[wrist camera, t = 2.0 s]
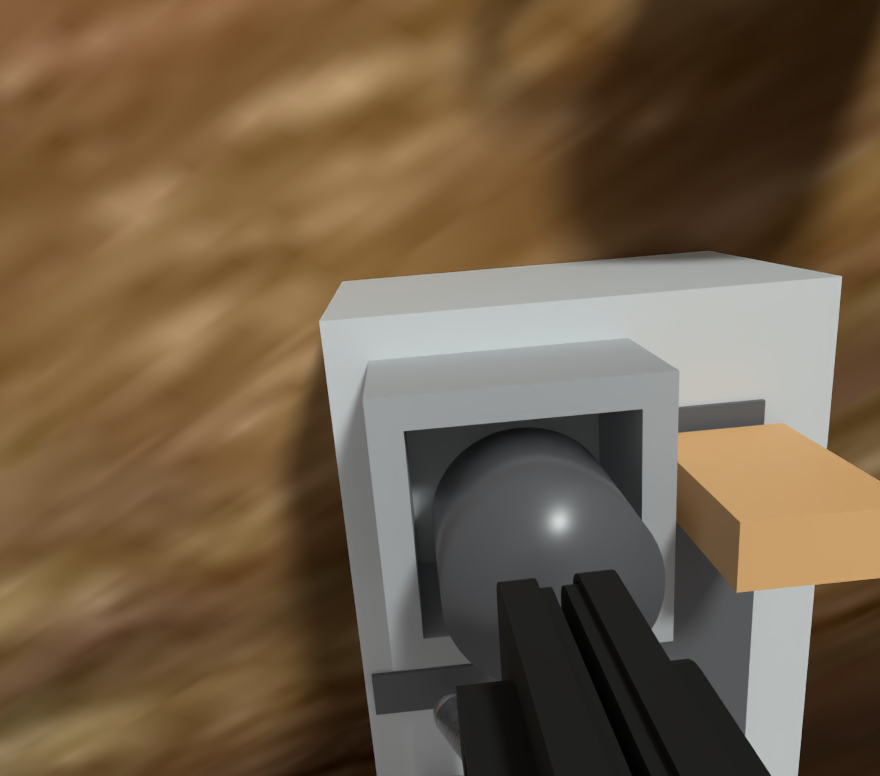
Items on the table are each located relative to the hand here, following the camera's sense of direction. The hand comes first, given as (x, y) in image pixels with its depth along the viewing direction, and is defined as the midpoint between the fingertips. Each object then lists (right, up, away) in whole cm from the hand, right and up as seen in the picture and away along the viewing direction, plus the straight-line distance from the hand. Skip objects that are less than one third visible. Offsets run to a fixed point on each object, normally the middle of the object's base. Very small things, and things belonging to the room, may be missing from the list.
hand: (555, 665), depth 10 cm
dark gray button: (0, +1, +5) cm, 5 cm away
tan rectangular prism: (+5, +2, +7) cm, 9 cm away
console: (+2, -2, +15) cm, 15 cm away
